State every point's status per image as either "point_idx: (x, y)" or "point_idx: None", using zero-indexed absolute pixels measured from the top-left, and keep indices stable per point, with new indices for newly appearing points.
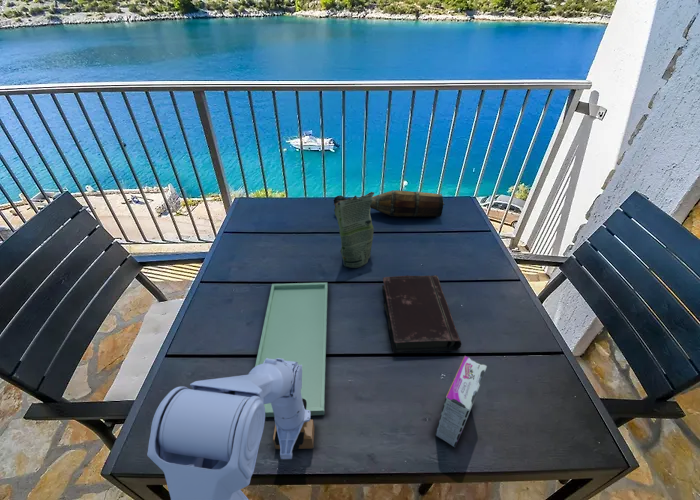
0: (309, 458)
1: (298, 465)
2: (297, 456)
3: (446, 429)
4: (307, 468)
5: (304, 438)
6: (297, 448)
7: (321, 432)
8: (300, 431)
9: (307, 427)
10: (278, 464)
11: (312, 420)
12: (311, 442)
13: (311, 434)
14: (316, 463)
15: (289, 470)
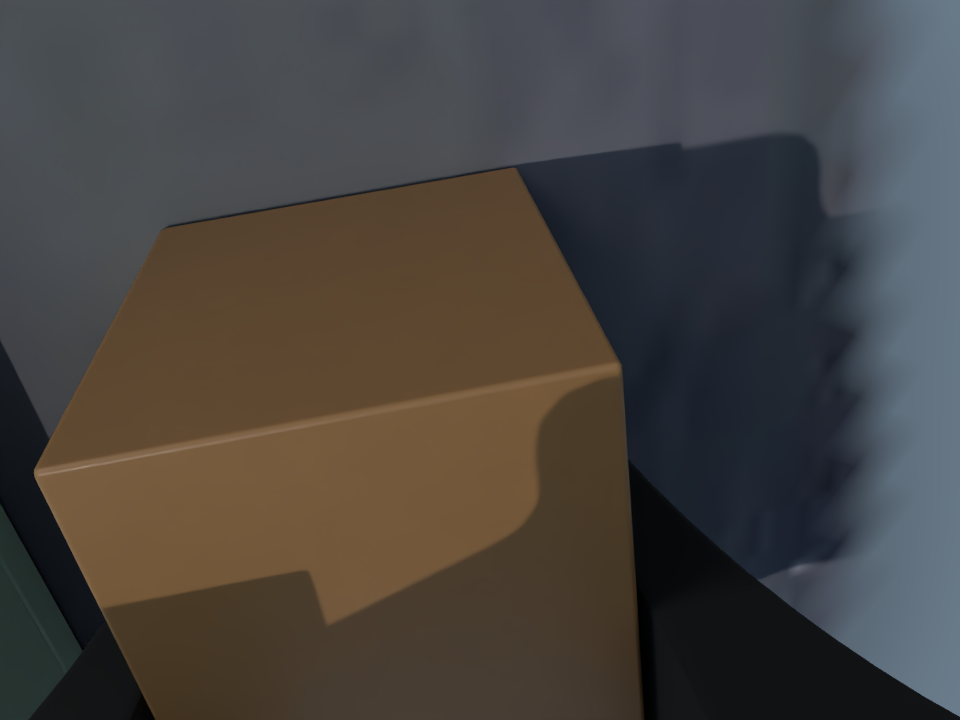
0: (684, 192)
1: (783, 333)
2: (656, 382)
3: None
4: (837, 186)
5: (612, 532)
6: (632, 471)
7: (181, 71)
8: (450, 654)
9: (315, 546)
10: (757, 570)
11: (68, 483)
12: (578, 290)
13: (491, 401)
14: (768, 44)
15: (840, 429)
